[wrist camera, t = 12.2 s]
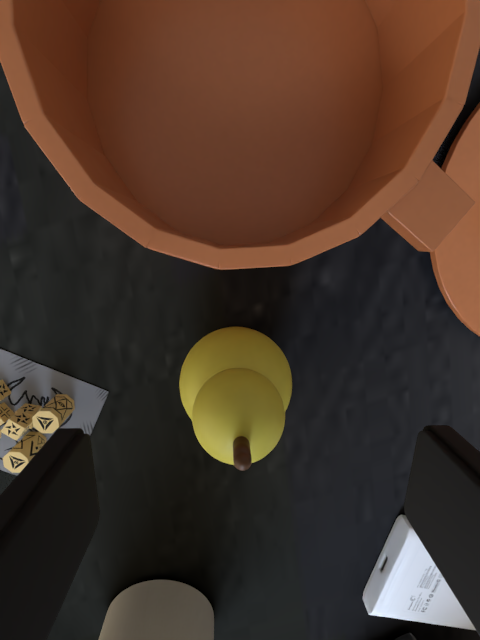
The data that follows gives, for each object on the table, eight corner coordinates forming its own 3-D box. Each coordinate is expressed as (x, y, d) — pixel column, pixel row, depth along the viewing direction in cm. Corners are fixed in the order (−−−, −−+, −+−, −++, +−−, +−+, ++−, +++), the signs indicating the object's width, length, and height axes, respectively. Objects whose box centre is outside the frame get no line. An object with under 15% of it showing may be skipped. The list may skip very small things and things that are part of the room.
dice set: (78, 399, 19) (63, 416, 17) (52, 464, 20) (34, 487, 18) (-6, 366, 18) (-32, 381, 17) (-29, 436, 20) (-56, 457, 18)
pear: (223, 294, 18) (224, 350, 9) (298, 348, 19) (366, 448, 10) (168, 367, 19) (118, 485, 10) (242, 415, 20) (258, 562, 11)
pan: (141, -270, 12) (69, -721, 7) (489, 105, 16) (636, 32, 11) (-38, 91, 15) (-202, -2, 9) (299, 338, 19) (332, 382, 13)
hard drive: (500, 615, 26) (360, 595, 25) (547, 537, 24) (399, 511, 23) (518, 639, 24) (369, 620, 23) (570, 558, 22) (411, 531, 21)
